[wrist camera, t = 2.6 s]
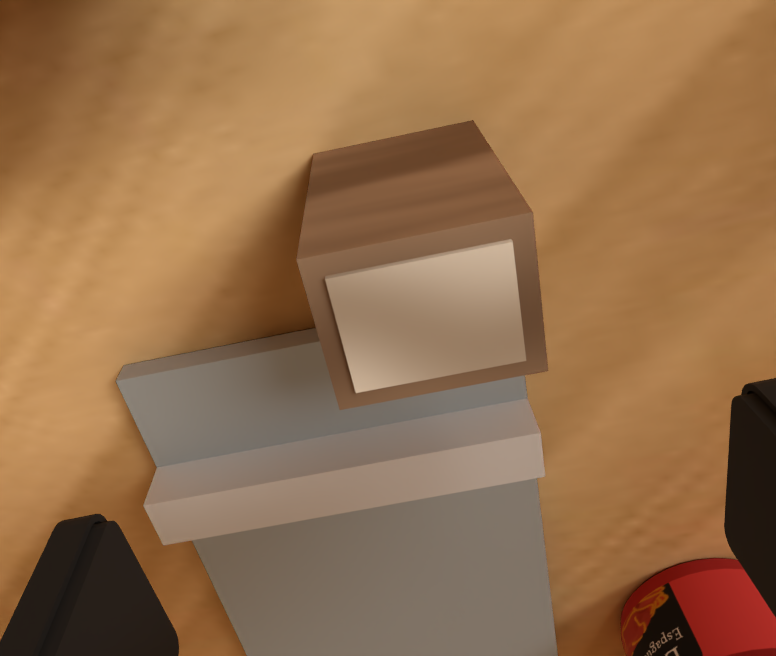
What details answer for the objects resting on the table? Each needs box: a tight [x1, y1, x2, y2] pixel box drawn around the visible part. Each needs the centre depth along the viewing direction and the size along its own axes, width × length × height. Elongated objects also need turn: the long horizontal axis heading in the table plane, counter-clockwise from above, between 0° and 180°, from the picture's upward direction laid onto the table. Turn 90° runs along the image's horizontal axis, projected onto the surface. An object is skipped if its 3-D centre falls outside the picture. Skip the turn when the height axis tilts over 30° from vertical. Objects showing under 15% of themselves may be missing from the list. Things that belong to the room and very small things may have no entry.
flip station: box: [116, 328, 558, 656], centre depth 28 cm, size 20×14×3 cm
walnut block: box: [296, 120, 548, 410], centre depth 19 cm, size 4×5×8 cm
